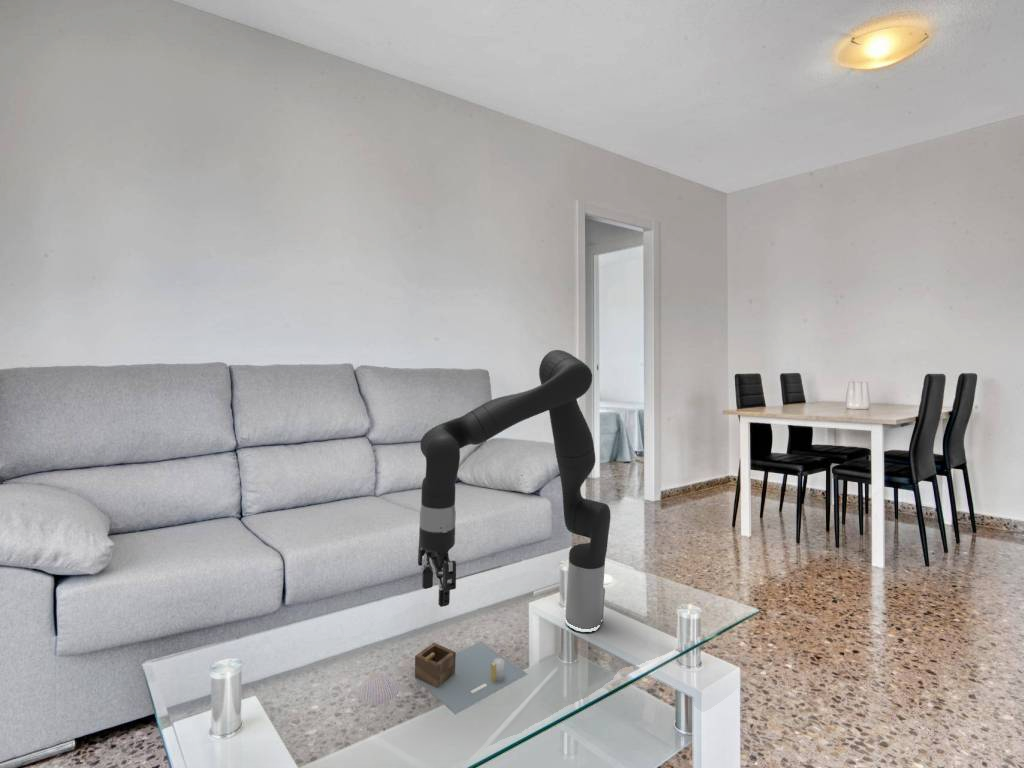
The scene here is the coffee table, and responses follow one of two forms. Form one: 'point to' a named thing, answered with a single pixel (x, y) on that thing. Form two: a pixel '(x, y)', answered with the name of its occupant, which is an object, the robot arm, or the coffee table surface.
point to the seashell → (377, 689)
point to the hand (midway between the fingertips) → (435, 596)
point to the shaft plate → (474, 677)
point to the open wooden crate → (435, 664)
